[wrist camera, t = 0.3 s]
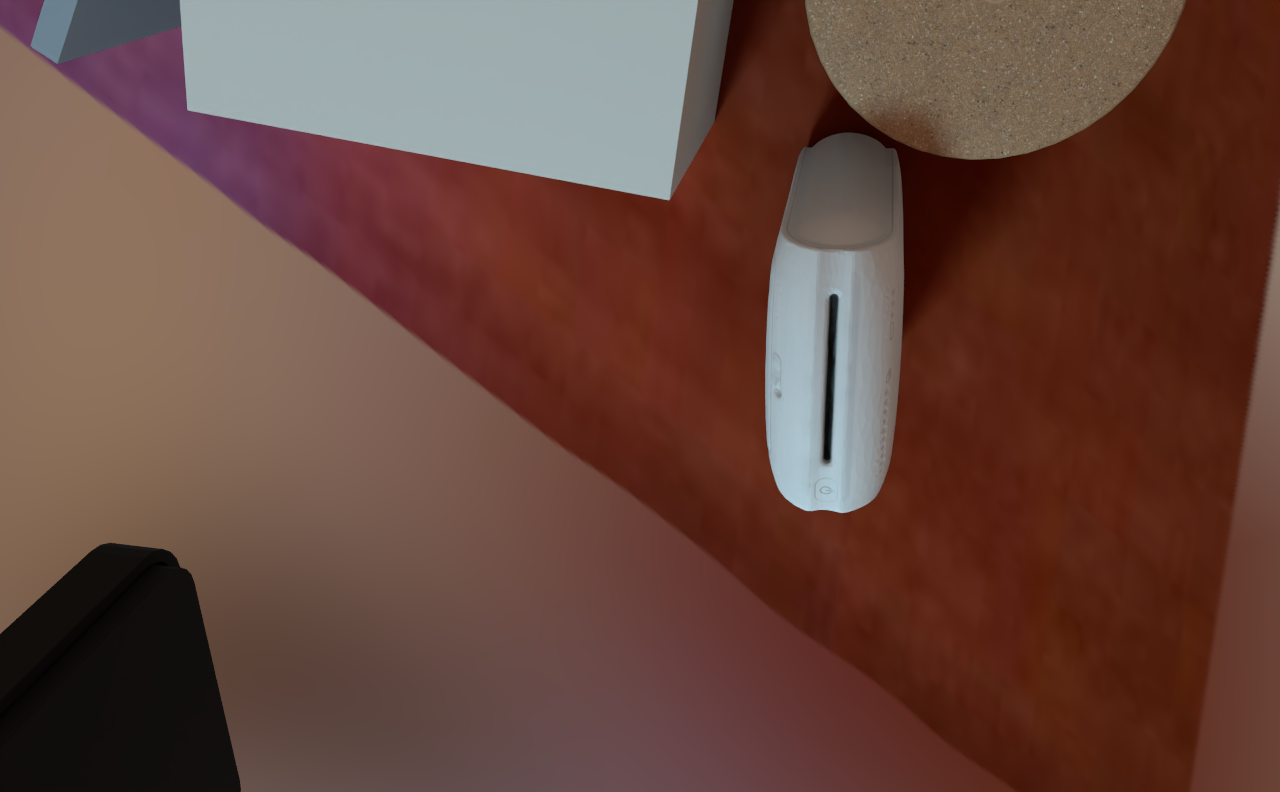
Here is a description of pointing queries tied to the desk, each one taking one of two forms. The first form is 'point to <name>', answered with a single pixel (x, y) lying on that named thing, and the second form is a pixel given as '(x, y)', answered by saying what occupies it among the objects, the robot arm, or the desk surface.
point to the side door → (99, 25)
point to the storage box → (474, 79)
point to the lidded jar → (987, 66)
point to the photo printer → (836, 325)
